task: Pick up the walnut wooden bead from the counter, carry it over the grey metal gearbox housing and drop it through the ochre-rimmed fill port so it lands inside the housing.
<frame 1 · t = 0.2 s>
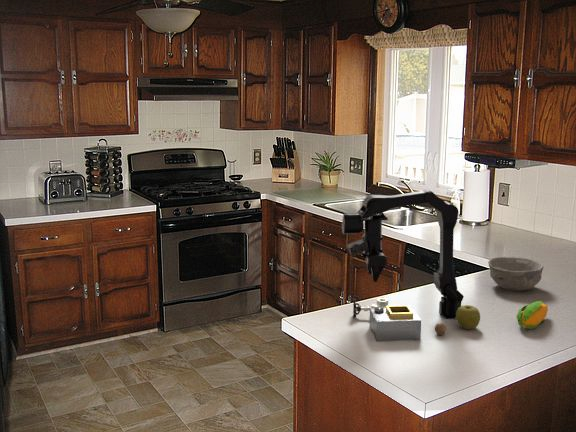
hand: (372, 277, 213), 14 cm above the worktop, fingers open, 9 cm apart
corn: (533, 324, 209), on the worktop
bead: (440, 334, 200), on the worktop
apple: (467, 328, 206), on the worktop
bowl: (513, 288, 246), on the worktop
valve: (370, 318, 216), on the worktop
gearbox: (394, 333, 201), on the worktop
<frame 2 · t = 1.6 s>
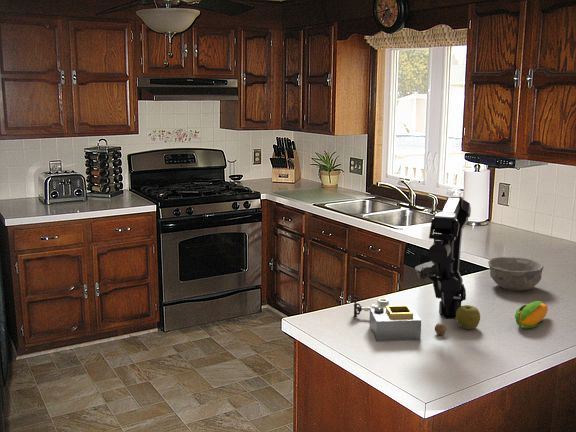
hand: (441, 302, 198), 11 cm above the worktop, fingers open, 9 cm apart
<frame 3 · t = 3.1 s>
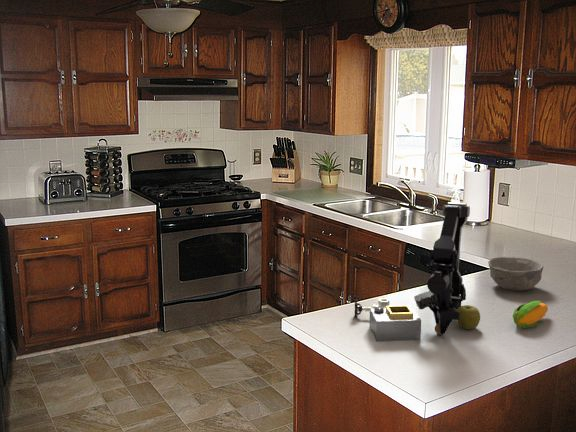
hand: (440, 331, 200), 1 cm above the worktop, fingers closed on bead, 4 cm apart
bead: (440, 334, 200), on the worktop, touching gripper
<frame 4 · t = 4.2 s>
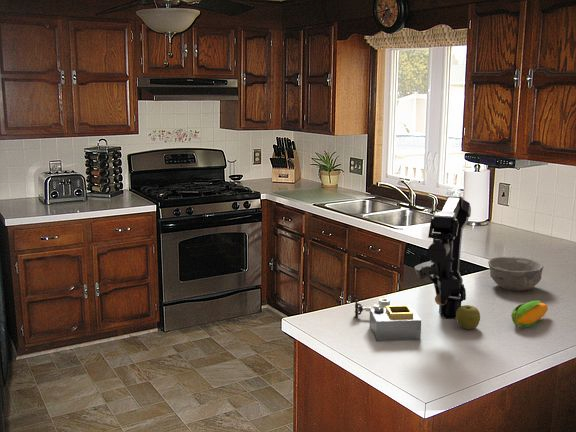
hand: (441, 301, 198), 11 cm above the worktop, fingers closed on bead, 4 cm apart
bead: (440, 305, 198), point 10 cm above the worktop, touching gripper
when the fingers open (9 cm above the worktop, at t = 5.6 s): bead drops 8 cm, resting on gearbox.
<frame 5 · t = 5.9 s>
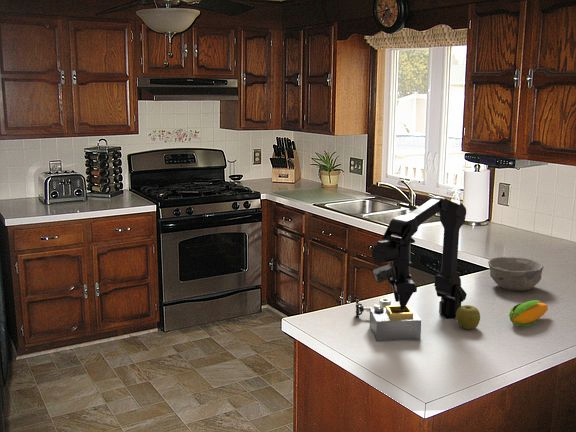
hand: (399, 305, 200), 9 cm above the worktop, fingers open, 7 cm apart
bead: (399, 331, 201), point 1 cm above the worktop, tilted 8°, touching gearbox
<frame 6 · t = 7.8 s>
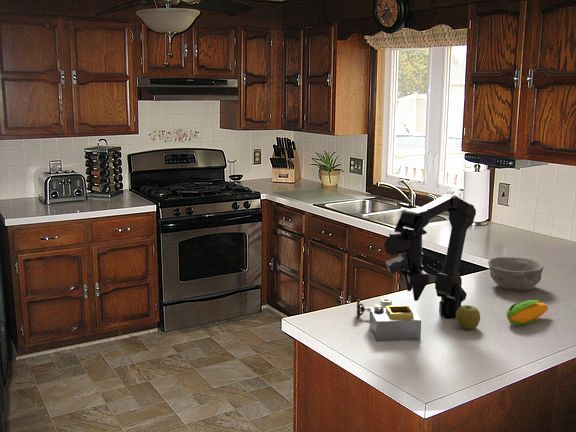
hand: (412, 295, 203), 11 cm above the worktop, fingers open, 9 cm apart
bead: (399, 329, 201), point 1 cm above the worktop, tilted 50°, touching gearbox
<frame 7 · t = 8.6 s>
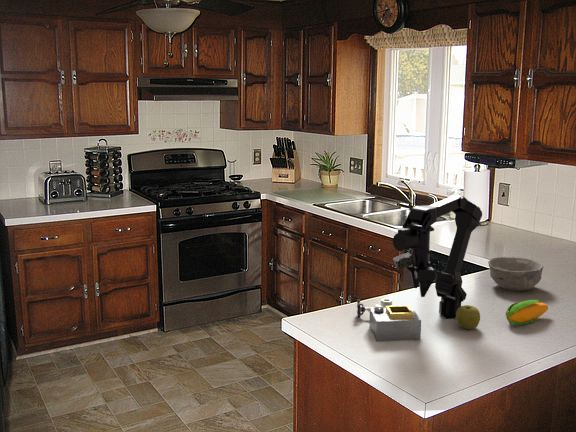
hand: (419, 292, 204), 12 cm above the worktop, fingers open, 9 cm apart
bead: (398, 327, 202), point 2 cm above the worktop, tilted 68°, touching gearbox
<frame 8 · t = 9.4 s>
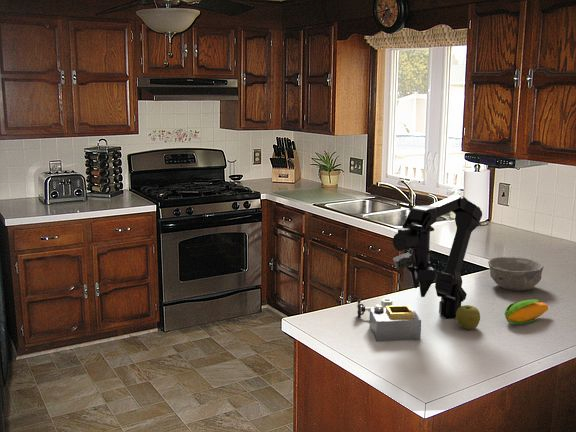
hand: (419, 292, 204), 12 cm above the worktop, fingers open, 9 cm apart
bead: (398, 325, 202), point 2 cm above the worktop, tilted 86°, touching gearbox
at the end: bead inside the target area on the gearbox (1.7 cm from its centre), point 2.4 cm above the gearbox's base; the gripper is holding nothing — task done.
